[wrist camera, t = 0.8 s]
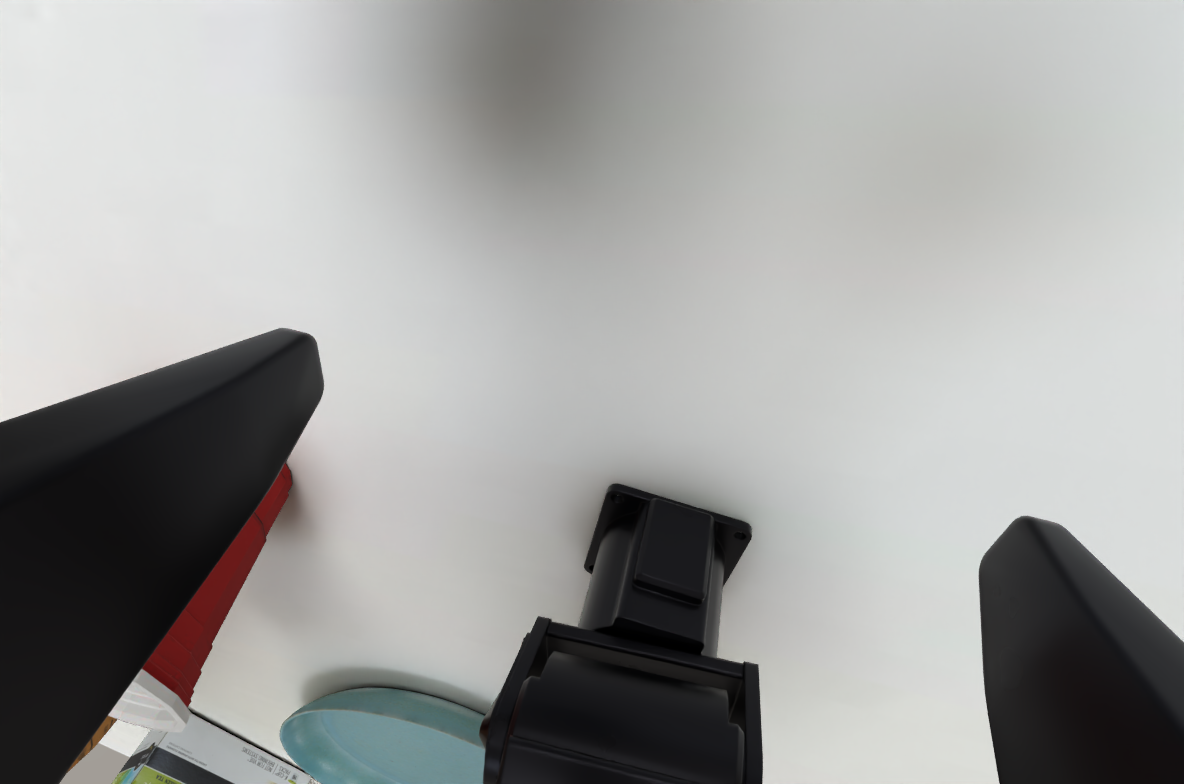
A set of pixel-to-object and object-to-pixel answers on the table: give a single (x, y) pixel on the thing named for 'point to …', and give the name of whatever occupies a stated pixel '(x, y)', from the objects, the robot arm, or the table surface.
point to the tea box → (204, 759)
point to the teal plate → (385, 739)
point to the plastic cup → (198, 627)
